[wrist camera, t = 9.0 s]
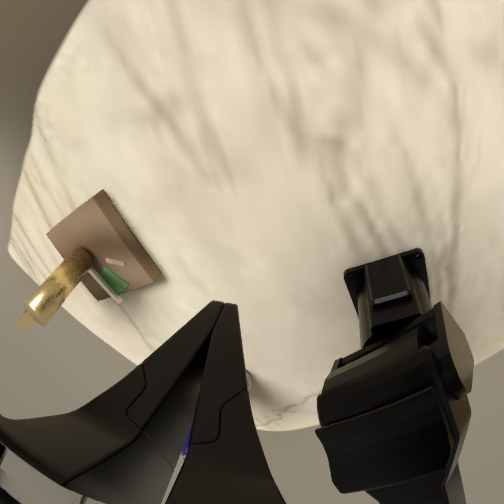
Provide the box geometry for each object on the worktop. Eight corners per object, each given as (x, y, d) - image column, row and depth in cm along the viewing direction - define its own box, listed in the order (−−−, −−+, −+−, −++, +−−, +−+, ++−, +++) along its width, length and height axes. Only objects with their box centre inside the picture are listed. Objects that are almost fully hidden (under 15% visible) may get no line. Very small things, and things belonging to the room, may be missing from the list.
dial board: (160, 272, 26) (153, 283, 25) (104, 291, 30) (97, 301, 29) (102, 189, 22) (91, 198, 21) (54, 226, 26) (45, 234, 25)
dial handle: (119, 315, 29) (85, 372, 23) (56, 276, 28) (16, 324, 22) (128, 275, 25) (84, 341, 19) (56, 232, 24) (5, 284, 18)
